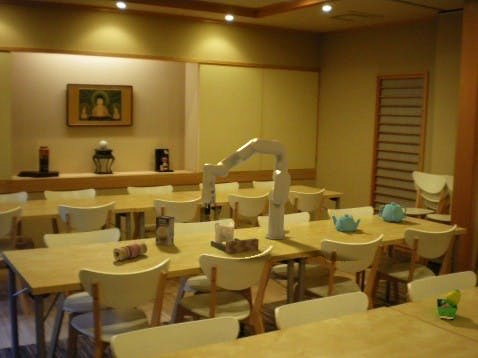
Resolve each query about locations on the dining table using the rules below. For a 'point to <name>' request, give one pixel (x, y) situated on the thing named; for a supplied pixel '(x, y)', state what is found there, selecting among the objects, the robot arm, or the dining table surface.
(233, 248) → the guide track
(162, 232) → the coffee box
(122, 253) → the scroll
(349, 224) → the teapot
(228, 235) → the cable organizer
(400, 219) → the decorative pot
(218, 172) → the robot arm
